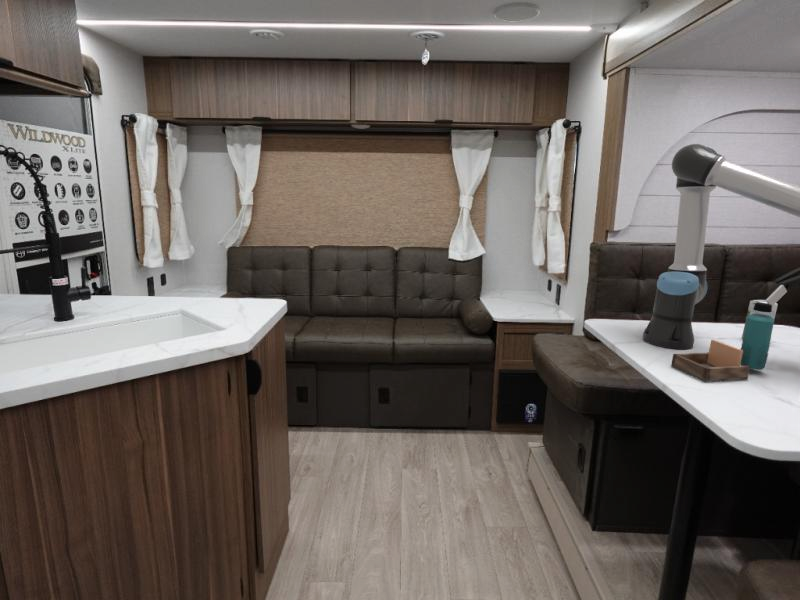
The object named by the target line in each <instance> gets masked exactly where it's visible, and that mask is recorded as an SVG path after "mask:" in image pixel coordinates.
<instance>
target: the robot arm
mask: <svg viewBox="0 0 800 600" xmlns="http://www.w3.org/2000/svg"><path fill="white" fill-rule="evenodd" d="M671 169H672V172H673V174H674V175H675V176H676V184H675V189H676V190H677V191H678V192H679V193H680V195H679V196H680V197H679V206H678V207H679V208H678V217H677V225H676V226H677V229H676V235H675V245H674V246H675V248H674V259H673V263H672V264H671V265H670V266H669V267H668V270H667V271H665V272H662V273H661V274H660V275H659V276H658V279H657V282H656V291H655V297H654V303H653V308H652V316H651V318H650V320H649V322H648V324H647V326H646V328H645V329H644V331H643V335H642V340H643V341H644V342H646V343H649V344H651V345H654V346H658V347H661V348H667V349H675V350H689V349H692V348H693V347H694V345H695V344H694V343H695V335H694V332H693V330H694V329H693V325H692V321H693V315H694V311H695V305H697V304H698V303H700V302H702V300H704V298H705V297H706V295H707V291H708V282H707V272H708V269H707V267H706V266H705V265H704V264H703V261H704V260H703V259H704V254H705V253H704V252H705V244H706V243H705V241H706V235H707V234H706V233H707V224H708V214H709V206H710V205H709V204H710V197H711V192H712V191H714V190H715V189H716V188H717V187H718V188H721V189H723V190H726V191H728V192H730V193H733V194H736V195H740V196H741V197H744V198H747V199H750V200H752V201H754V202H758V203H761V204H763V205H767V206H768V207H771V208H773V209H775V210H779V211H782V212H784V213H787V214H790V215H792V216H796V217H798V218H800V185H797V184H794V183H792V182H789V181H786V180H783V179H780V178H778V177H777V178H776V177H774V176H771V175H768V174H766V173H762V172H760V171H757V170H754V169H751V168H749V167H746V166H742V165H739V164H737V163H734V162H731V161H728V160H726V157H725V155H722V154H720V153H718V152H717V151H716V150H714V148H710V147H709V146H705V145H702V144H699V143H691V144H687V145H686V146H683V147H682V148H680V149H679V150H678V151H677V152H675V154H674V156H673V158H672V161H671ZM774 283H775V285H776V287H775V288H774V289H773V290H772V291H771V294H770V295H769V296H768V297H767V298H766V299H765V300H766V302H767V303H768V304H771V305H772V306H773V305H774V304H775V303H777V302H778V301H779V300H780V299H782V297H783V296H784V295H785V294H786V293H788V290H789V289H792V288H795V287H797V286H800V266H799V267H797V268H795V269H793V270H791V271H789V272H788V273H786V274H783V275H782V276H780V277H778V278H776V279H775V280H774Z"/></svg>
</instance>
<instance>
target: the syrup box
mask: <svg viewBox="0 0 800 600" xmlns="http://www.w3.org/2000/svg"><path fill="white" fill-rule="evenodd" d="M757 302H760V303H767V302H766V299H753V300H751V299H750V300H749V305H748V309H747V313H746V317H745V321H744V322H745V323H744V327H743V331H742V335H741V340H742V341H743V337H744V332H745V327H746V322H747V317H748V316H749V315H751V314H754V313H756V314H764V315H768V316H771V317H772V318H773V320H774V321H775V317H776V313H777V310H778V303H777V302H776V303H775V304H774V305H773V306H772V312H760V311H756V310H753V308H754V306H755V303H757ZM767 304H768V303H767Z"/></svg>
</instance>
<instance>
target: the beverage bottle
mask: <svg viewBox="0 0 800 600" xmlns="http://www.w3.org/2000/svg"><path fill="white" fill-rule="evenodd" d="M753 310H756V311H760V312H772V305H771V304H767V303H760V302H757V303H755V306H754V308H753ZM746 317H747V316H746ZM745 322H746V321H745ZM774 323H775V319H774V320H773V318H772V317H771V316H768V315H764V314H756V313H754V314H751V315H749V316H748V317H747V322H746V327H745V332H744V337H743V340H742V341H741V347H740V349H741V350H743V354H742V358H741V363H740V366H746V365H747V366H750V370H756V371H757V370H760V371H761V370H764V369H765V367H766V364H767V361H768V358H769V357H768V356H769V351H770V346H771V345H770V344H771V340H772V334H773V329H774Z"/></svg>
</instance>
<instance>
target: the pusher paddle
mask: <svg viewBox="0 0 800 600" xmlns="http://www.w3.org/2000/svg"><path fill="white" fill-rule="evenodd" d="M708 352H709V354H708V359H707V363H708V364H711V365H713V366H715V367H727V366H741V365H740V363H741V358H742V354H743V350H741V348H738V347H735V346H732V345H729V344H726V343H724V342H722V341H719V340H715V339H711V340H710V343H709V351H708Z"/></svg>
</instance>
